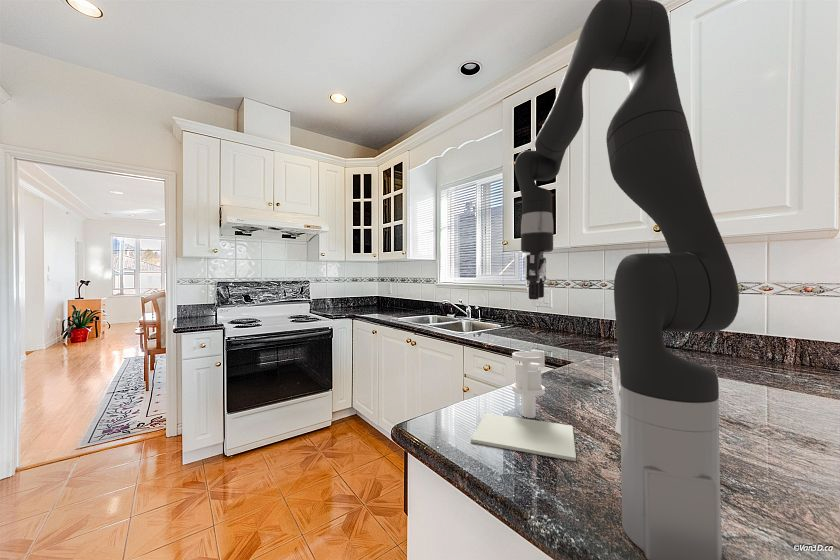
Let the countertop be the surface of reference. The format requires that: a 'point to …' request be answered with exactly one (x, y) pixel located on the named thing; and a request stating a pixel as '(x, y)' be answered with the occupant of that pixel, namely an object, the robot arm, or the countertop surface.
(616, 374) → the beer glass
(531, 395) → the white stacked pillar
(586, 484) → the countertop surface
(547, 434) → the mat
